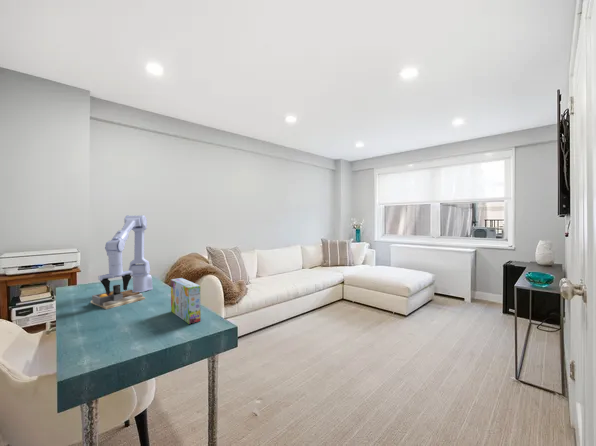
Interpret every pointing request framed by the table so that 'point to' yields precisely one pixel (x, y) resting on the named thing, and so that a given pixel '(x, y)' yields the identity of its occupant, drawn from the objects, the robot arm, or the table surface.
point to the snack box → (186, 300)
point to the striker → (116, 293)
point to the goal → (100, 299)
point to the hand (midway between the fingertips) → (116, 291)
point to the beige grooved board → (127, 298)
